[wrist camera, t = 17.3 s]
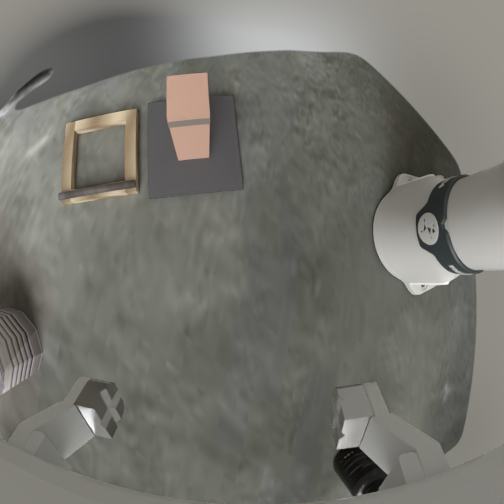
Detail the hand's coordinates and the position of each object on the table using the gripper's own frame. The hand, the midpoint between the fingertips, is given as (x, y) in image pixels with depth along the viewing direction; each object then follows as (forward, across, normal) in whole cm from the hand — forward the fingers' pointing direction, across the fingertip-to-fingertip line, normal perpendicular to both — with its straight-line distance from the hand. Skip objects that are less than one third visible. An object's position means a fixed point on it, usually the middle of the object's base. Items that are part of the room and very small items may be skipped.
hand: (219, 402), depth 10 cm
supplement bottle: (+18, -15, +38) cm, 45 cm away
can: (+18, +36, +14) cm, 42 cm away
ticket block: (+32, +7, -10) cm, 34 cm away
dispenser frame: (+30, +20, -9) cm, 38 cm away
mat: (+33, +7, -9) cm, 35 cm away
